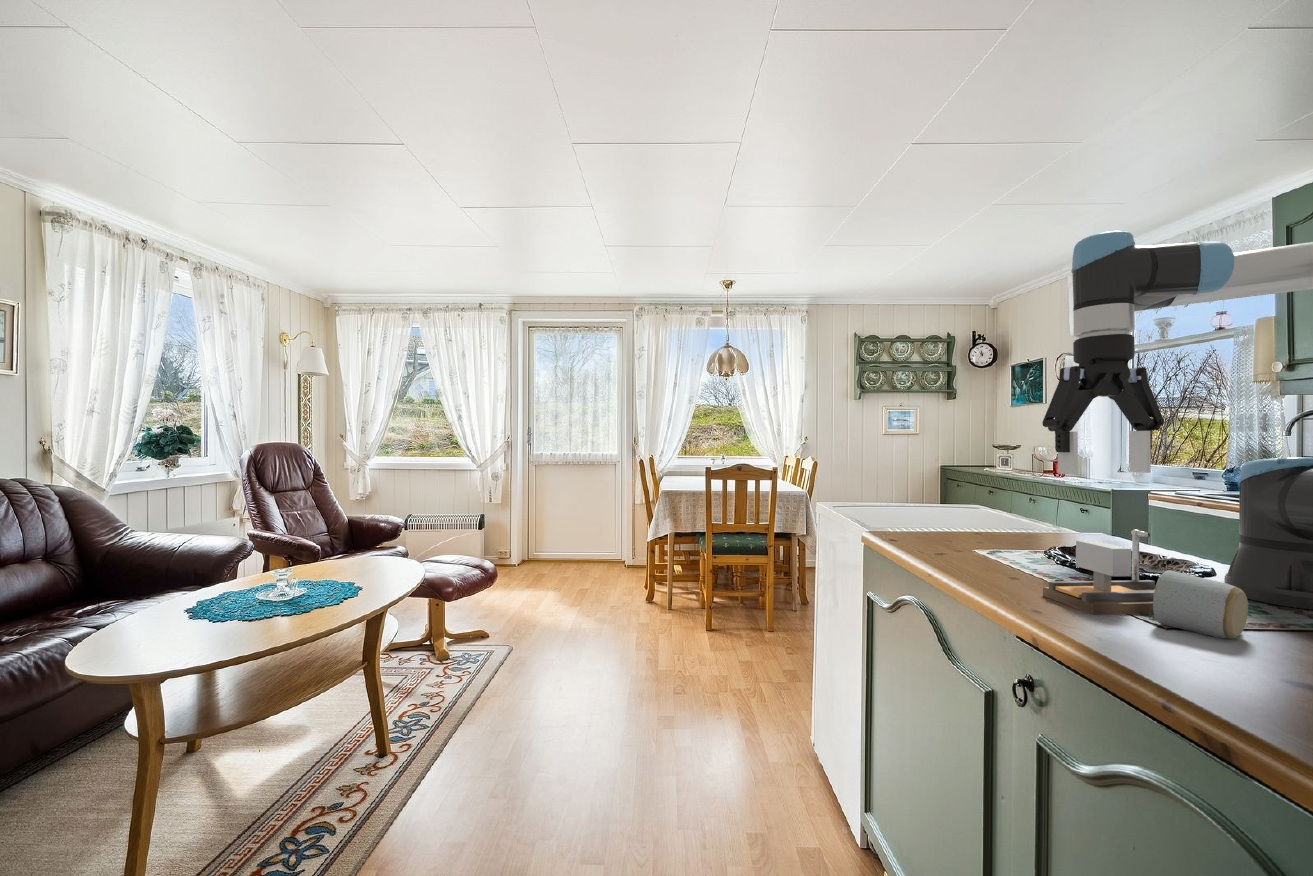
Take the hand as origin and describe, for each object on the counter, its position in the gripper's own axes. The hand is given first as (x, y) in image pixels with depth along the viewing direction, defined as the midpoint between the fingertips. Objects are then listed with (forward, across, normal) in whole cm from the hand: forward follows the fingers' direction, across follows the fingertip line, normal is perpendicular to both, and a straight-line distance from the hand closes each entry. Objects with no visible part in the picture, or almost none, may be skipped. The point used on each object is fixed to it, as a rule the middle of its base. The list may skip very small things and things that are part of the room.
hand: (1104, 473), depth 90 cm
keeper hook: (+20, -12, -4) cm, 23 cm away
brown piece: (+21, -4, -2) cm, 21 cm away
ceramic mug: (+21, -4, +11) cm, 24 cm away
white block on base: (+19, -1, -2) cm, 19 cm away
